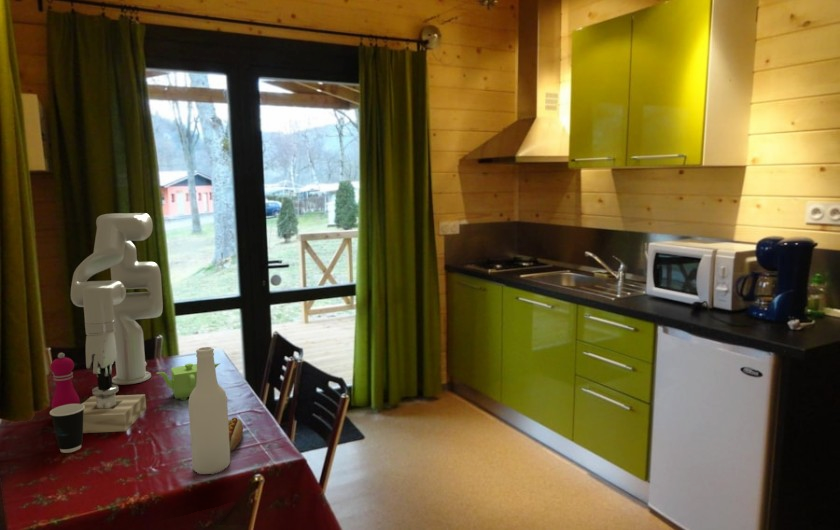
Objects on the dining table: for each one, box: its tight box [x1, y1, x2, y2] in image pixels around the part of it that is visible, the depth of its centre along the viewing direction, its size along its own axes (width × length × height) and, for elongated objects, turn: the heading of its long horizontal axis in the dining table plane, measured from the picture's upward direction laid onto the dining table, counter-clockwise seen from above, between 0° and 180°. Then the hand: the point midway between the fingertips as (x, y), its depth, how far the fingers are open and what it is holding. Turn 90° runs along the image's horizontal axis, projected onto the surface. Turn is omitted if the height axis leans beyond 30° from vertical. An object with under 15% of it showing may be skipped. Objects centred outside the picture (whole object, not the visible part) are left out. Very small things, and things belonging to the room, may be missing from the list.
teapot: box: [156, 362, 221, 401], centre depth 192 cm, size 15×13×11 cm
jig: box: [81, 393, 147, 434], centre depth 170 cm, size 16×16×5 cm
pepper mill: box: [50, 352, 81, 409], centre depth 173 cm, size 7×7×20 cm
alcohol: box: [188, 346, 231, 475], centre depth 140 cm, size 9×9×30 cm
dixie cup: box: [49, 403, 85, 454], centre depth 152 cm, size 8×8×11 cm
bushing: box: [91, 383, 119, 409], centre depth 170 cm, size 7×7×10 cm
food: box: [228, 417, 244, 452], centre depth 156 cm, size 14×6×5 cm, turn 10°
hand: (105, 388), depth 169 cm, fingers closed
